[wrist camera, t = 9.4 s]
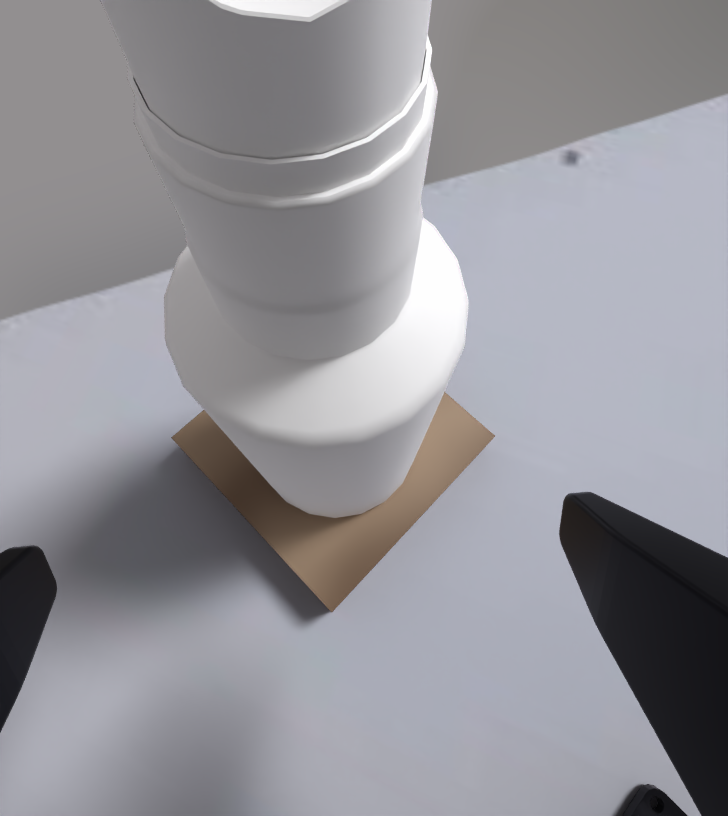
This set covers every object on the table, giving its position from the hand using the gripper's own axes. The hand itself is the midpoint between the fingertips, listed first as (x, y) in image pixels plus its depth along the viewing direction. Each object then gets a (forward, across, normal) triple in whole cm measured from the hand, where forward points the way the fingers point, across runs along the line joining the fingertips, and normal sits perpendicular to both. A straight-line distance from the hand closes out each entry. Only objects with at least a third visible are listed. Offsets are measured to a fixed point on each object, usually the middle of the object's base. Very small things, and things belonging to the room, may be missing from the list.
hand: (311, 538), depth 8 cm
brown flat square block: (+13, 0, +6) cm, 15 cm away
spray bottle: (+12, 0, +5) cm, 13 cm away
